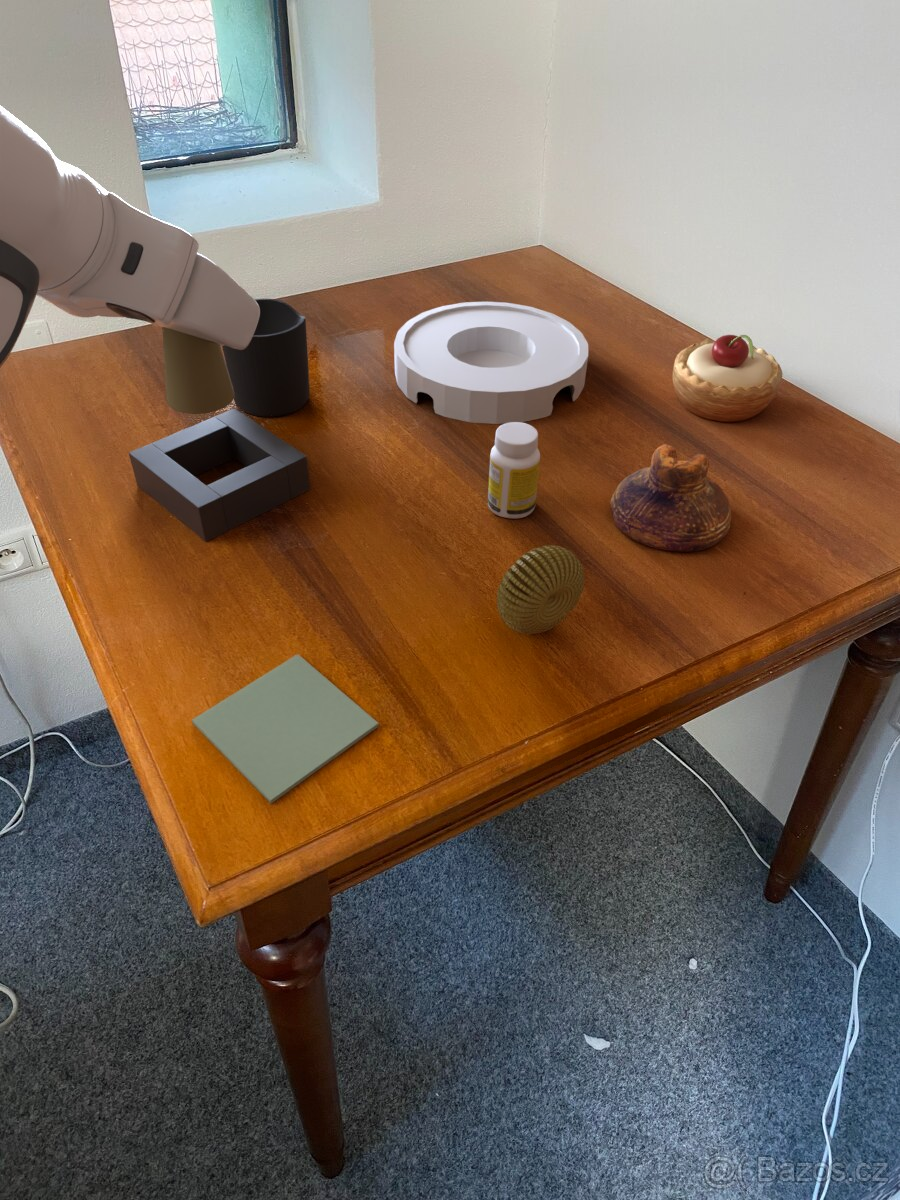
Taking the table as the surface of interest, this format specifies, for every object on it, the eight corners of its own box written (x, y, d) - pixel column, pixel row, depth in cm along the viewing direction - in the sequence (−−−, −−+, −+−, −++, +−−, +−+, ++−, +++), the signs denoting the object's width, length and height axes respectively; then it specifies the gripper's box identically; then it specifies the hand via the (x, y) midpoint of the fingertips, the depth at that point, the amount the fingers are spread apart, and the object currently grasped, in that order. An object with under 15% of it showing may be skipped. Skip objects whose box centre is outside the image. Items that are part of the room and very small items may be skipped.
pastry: (717, 368, 109) (734, 299, 103) (792, 409, 102) (815, 338, 96) (646, 394, 104) (660, 323, 98) (721, 439, 97) (740, 366, 91)
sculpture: (558, 594, 78) (568, 523, 72) (587, 621, 75) (600, 549, 70) (484, 628, 74) (489, 556, 69) (513, 657, 72) (520, 584, 66)
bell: (584, 509, 87) (593, 447, 82) (666, 469, 92) (680, 408, 87) (672, 571, 80) (689, 507, 75) (755, 524, 86) (776, 462, 81)
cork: (227, 415, 77) (208, 293, 70) (159, 413, 77) (132, 291, 70) (240, 382, 82) (223, 264, 74) (175, 380, 82) (152, 262, 74)
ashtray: (571, 331, 116) (575, 302, 113) (598, 424, 99) (603, 392, 96) (396, 330, 115) (395, 300, 112) (393, 423, 98) (392, 392, 95)
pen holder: (320, 381, 105) (313, 301, 98) (303, 423, 98) (294, 339, 91) (243, 376, 105) (231, 296, 98) (220, 417, 98) (205, 333, 92)
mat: (271, 804, 61) (270, 800, 61) (192, 723, 66) (191, 719, 66) (379, 726, 66) (378, 723, 66) (298, 657, 71) (297, 653, 71)
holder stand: (205, 542, 82) (198, 507, 79) (137, 486, 88) (128, 452, 86) (310, 489, 89) (307, 456, 86) (239, 440, 95) (234, 408, 92)
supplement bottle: (542, 499, 88) (550, 427, 82) (524, 525, 85) (532, 451, 79) (498, 487, 90) (503, 414, 84) (479, 512, 86) (483, 438, 81)
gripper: (-37, 260, 66) (91, 333, 79) (174, 323, 59) (276, 391, 72) (-8, 182, 66) (116, 268, 79) (207, 235, 59) (303, 320, 72)
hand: (194, 327), depth 76 cm, fingers closed on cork, 5 cm apart
